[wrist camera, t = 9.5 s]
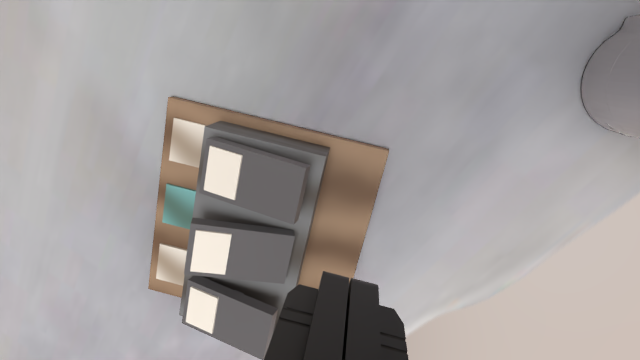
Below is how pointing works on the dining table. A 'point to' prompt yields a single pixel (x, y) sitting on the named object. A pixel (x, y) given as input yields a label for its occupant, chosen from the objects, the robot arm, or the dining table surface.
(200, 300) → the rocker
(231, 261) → the block
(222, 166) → the rocker
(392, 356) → the robot arm
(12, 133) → the dining table surface
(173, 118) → the switch panel
